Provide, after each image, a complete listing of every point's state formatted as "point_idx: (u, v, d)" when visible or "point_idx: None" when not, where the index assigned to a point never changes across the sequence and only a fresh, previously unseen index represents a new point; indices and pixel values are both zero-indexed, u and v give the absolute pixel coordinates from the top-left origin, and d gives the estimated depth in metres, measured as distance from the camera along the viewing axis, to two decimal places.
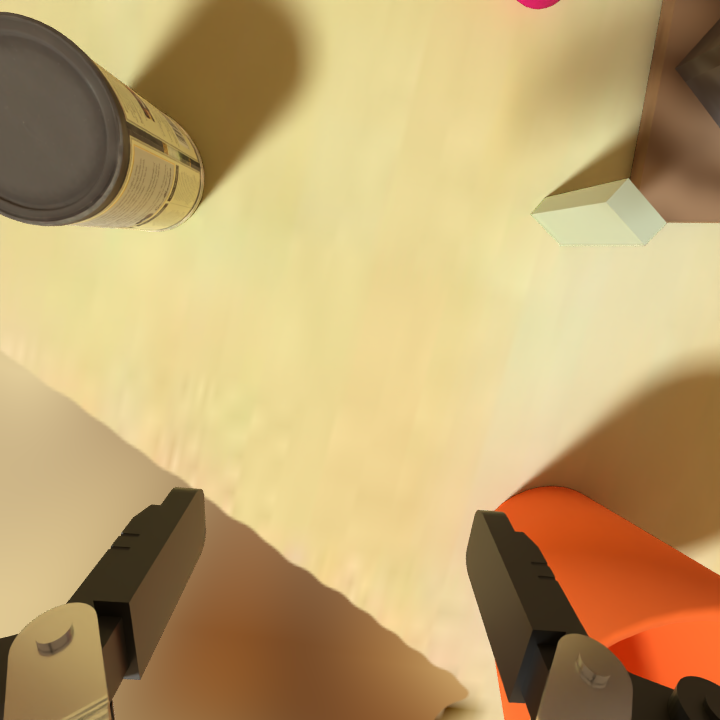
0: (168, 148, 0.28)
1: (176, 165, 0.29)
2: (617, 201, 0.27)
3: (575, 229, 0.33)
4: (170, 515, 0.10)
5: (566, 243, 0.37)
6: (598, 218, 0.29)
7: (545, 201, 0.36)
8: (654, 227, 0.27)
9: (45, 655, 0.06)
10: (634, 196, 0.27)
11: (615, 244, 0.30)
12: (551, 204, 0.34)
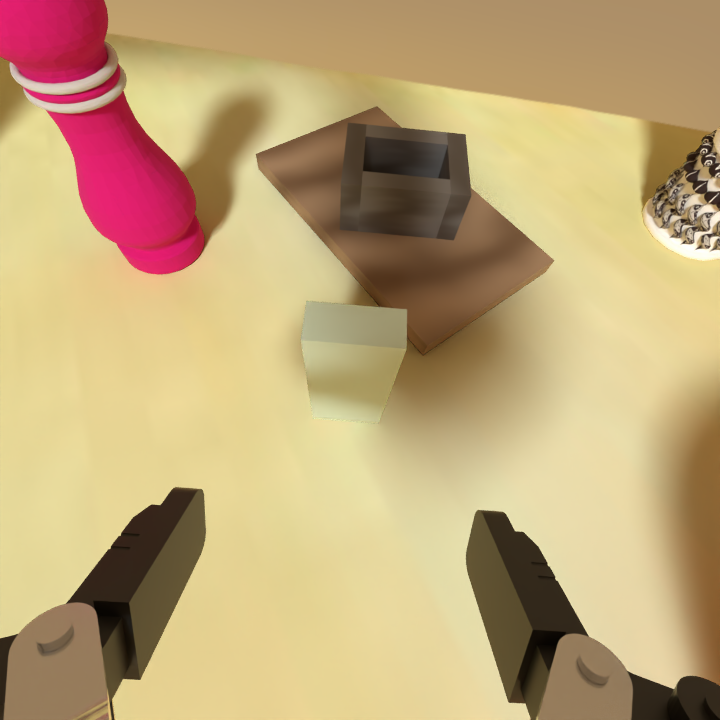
0: None
1: None
2: (315, 330, 0.16)
3: (352, 396, 0.22)
4: (170, 515, 0.10)
5: (375, 416, 0.25)
6: (335, 365, 0.18)
7: None
8: (396, 324, 0.17)
9: (45, 655, 0.06)
10: (333, 312, 0.17)
11: (393, 376, 0.19)
12: None
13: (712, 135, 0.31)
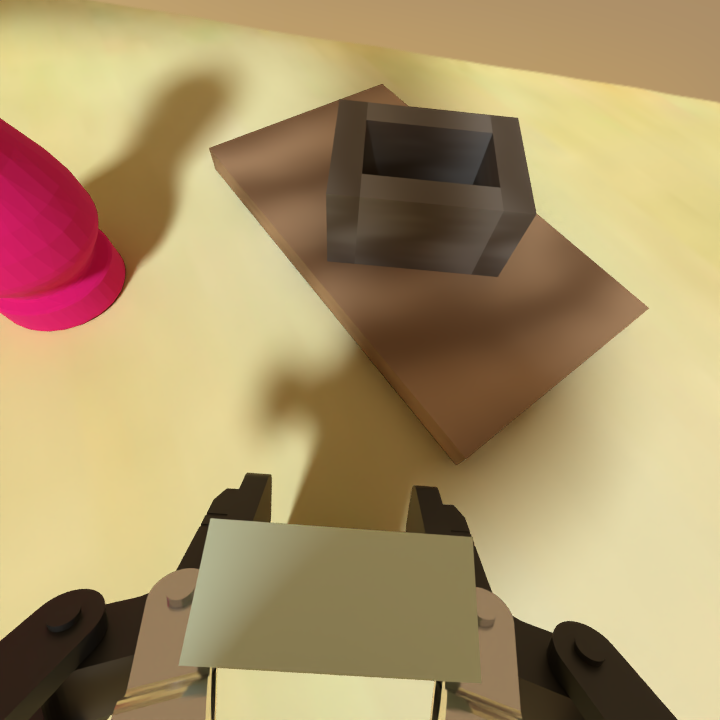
0: None
1: None
2: (226, 623, 0.06)
3: None
4: (250, 497, 0.10)
5: None
6: None
7: None
8: (447, 589, 0.06)
9: (177, 611, 0.07)
10: (280, 555, 0.06)
11: None
12: None
13: None
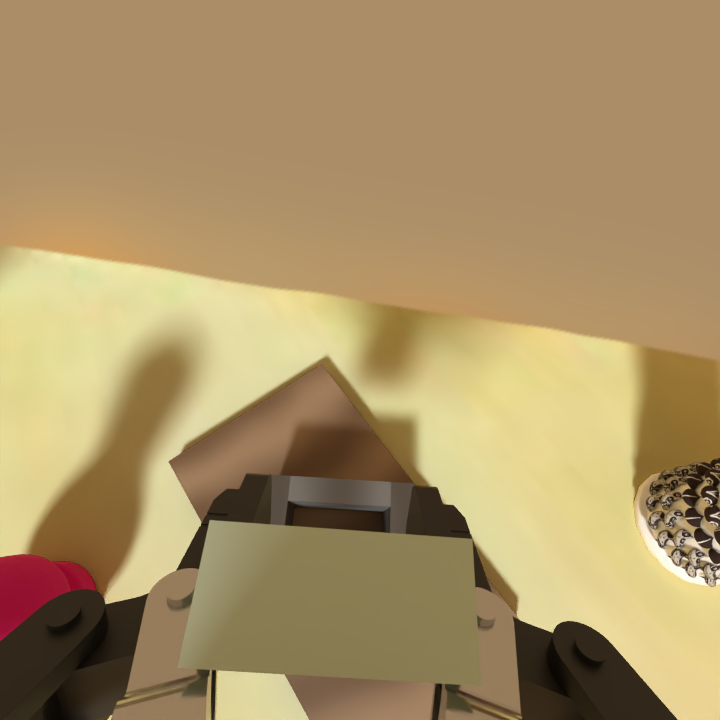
0: None
1: None
2: (225, 625, 0.06)
3: None
4: (250, 497, 0.10)
5: None
6: None
7: None
8: (447, 591, 0.06)
9: (177, 611, 0.07)
10: (279, 557, 0.06)
11: None
12: None
13: (718, 475, 0.26)
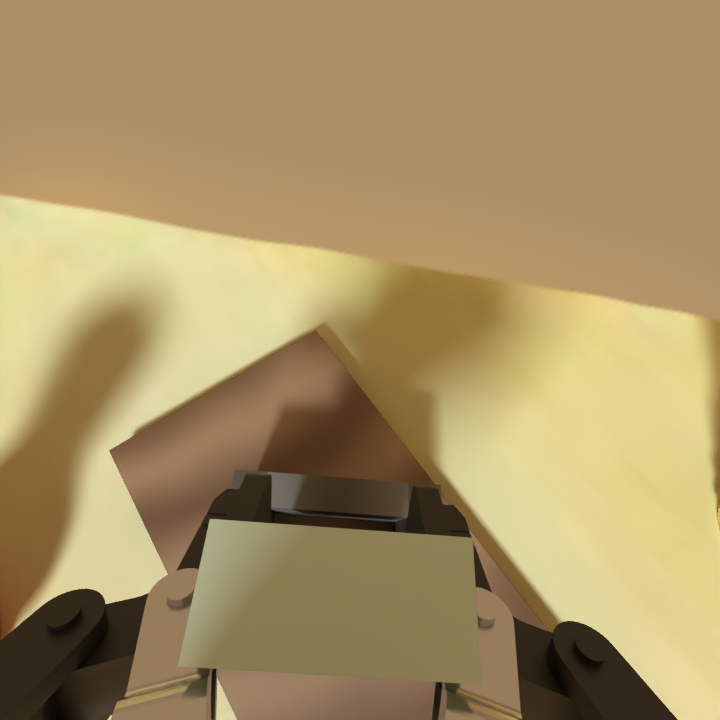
0: None
1: None
2: (225, 624, 0.06)
3: None
4: (250, 497, 0.10)
5: None
6: None
7: None
8: (447, 590, 0.06)
9: (177, 611, 0.07)
10: (279, 555, 0.06)
11: None
12: None
13: None
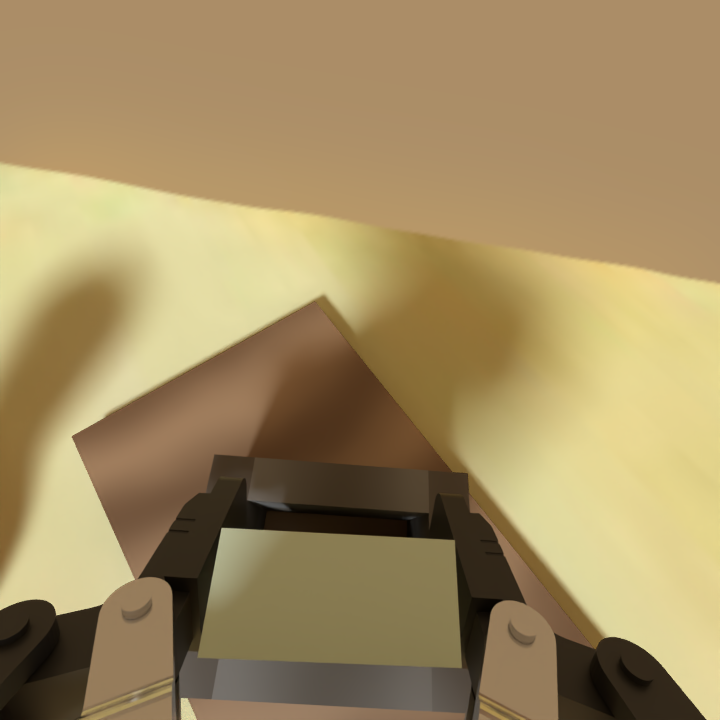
0: None
1: None
2: (238, 620, 0.07)
3: None
4: (221, 501, 0.10)
5: None
6: None
7: None
8: (432, 586, 0.07)
9: (131, 622, 0.07)
10: (284, 559, 0.07)
11: None
12: None
13: None
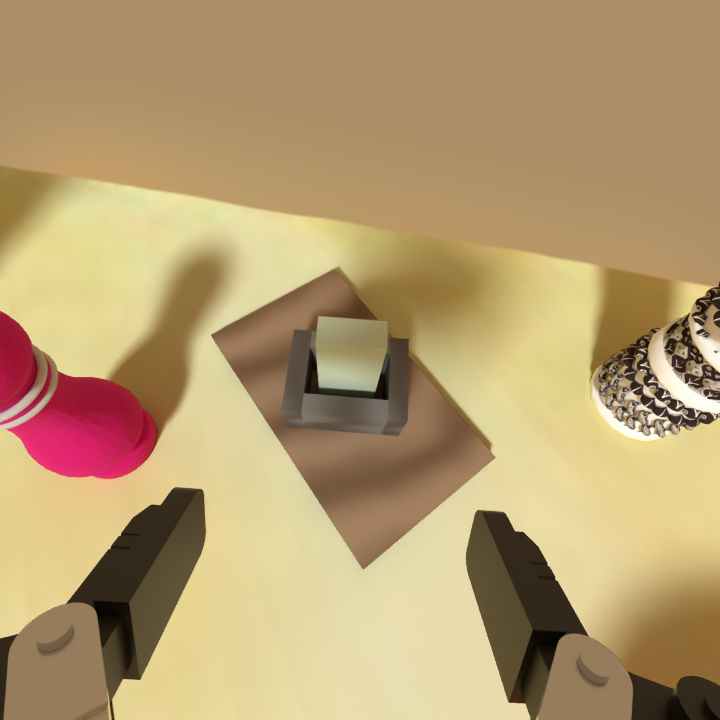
0: None
1: None
2: (325, 336, 0.24)
3: (350, 384, 0.30)
4: (170, 515, 0.10)
5: None
6: (338, 360, 0.26)
7: None
8: (380, 331, 0.24)
9: (45, 655, 0.06)
10: (337, 324, 0.25)
11: (379, 367, 0.27)
12: None
13: (649, 338, 0.32)
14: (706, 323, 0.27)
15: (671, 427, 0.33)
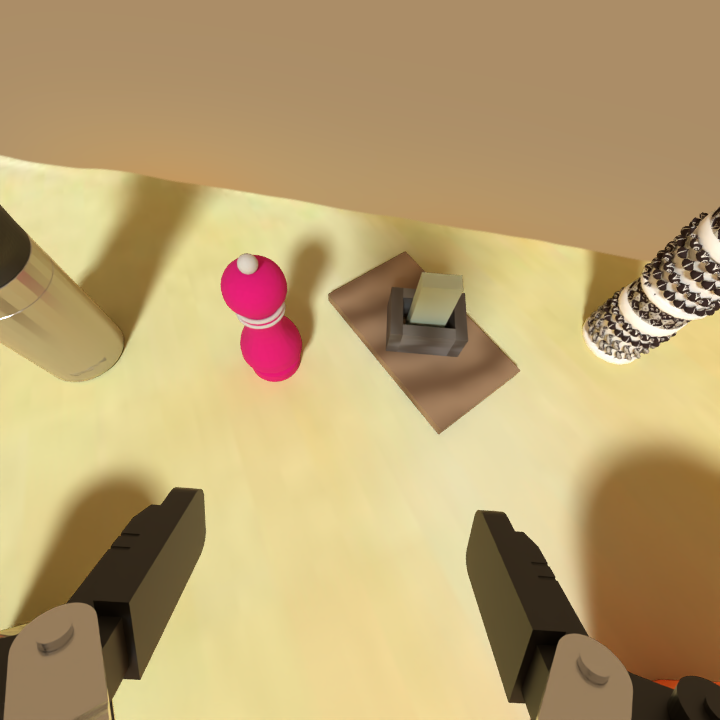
0: None
1: None
2: (427, 283, 0.42)
3: (431, 319, 0.47)
4: (170, 515, 0.10)
5: None
6: (431, 299, 0.44)
7: (405, 324, 0.51)
8: (458, 280, 0.42)
9: (45, 655, 0.06)
10: (433, 276, 0.42)
11: (454, 305, 0.44)
12: (408, 320, 0.49)
13: (619, 293, 0.50)
14: (650, 278, 0.44)
15: (634, 351, 0.50)
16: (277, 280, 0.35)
